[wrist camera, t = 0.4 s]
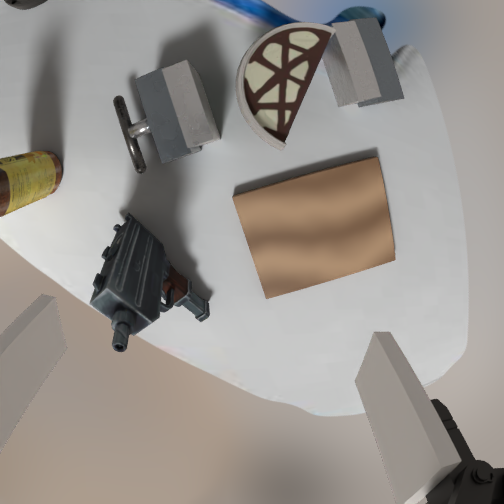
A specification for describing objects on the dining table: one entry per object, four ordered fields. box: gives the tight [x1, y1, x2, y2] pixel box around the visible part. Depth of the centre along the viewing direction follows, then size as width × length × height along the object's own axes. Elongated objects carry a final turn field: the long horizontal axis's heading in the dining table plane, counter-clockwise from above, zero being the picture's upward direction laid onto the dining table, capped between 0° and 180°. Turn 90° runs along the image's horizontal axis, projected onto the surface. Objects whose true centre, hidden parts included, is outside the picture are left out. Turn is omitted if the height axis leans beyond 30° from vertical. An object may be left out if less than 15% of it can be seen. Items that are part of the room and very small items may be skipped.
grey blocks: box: [113, 18, 404, 174], centre depth 27 cm, size 9×28×7 cm, turn 107°
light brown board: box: [232, 157, 396, 299], centre depth 35 cm, size 13×17×1 cm
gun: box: [90, 213, 210, 352], centre depth 31 cm, size 3×17×15 cm
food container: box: [236, 22, 337, 150], centre depth 26 cm, size 12×6×10 cm, turn 158°
